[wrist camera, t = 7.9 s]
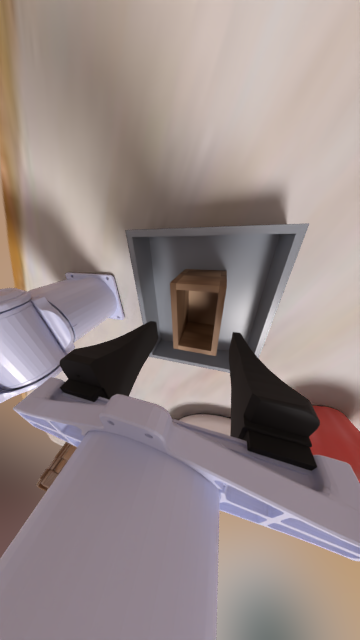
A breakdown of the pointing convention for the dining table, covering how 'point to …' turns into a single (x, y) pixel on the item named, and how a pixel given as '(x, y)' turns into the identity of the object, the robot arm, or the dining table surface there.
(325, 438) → the flower pot
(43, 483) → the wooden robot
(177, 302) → the walnut crate
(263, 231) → the grey crate
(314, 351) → the dining table surface
